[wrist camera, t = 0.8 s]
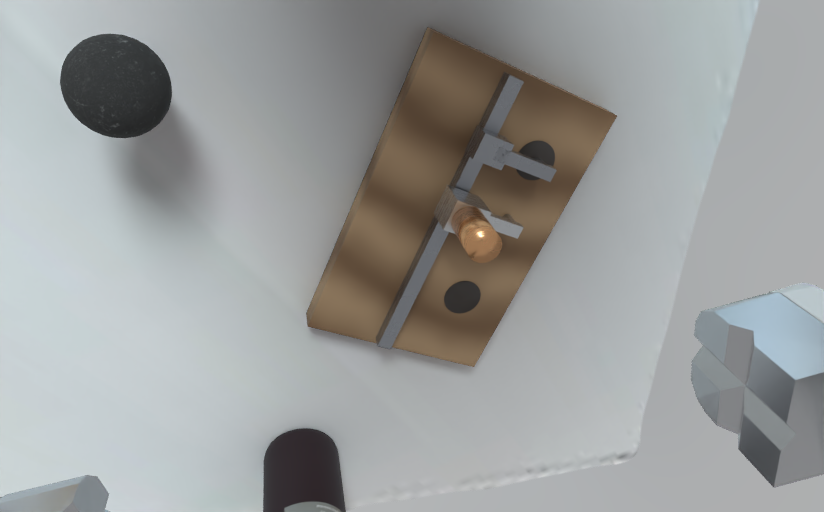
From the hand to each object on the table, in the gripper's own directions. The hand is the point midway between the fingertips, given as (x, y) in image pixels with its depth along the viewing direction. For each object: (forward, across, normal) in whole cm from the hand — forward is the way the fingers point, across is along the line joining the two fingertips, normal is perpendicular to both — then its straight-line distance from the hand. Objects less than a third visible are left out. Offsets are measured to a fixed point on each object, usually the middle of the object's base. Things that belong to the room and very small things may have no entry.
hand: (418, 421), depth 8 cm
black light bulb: (+39, +10, 0) cm, 40 cm away
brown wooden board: (+38, -9, +16) cm, 43 cm away
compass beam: (+36, -9, +17) cm, 41 cm away
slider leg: (+36, -10, +15) cm, 40 cm away
